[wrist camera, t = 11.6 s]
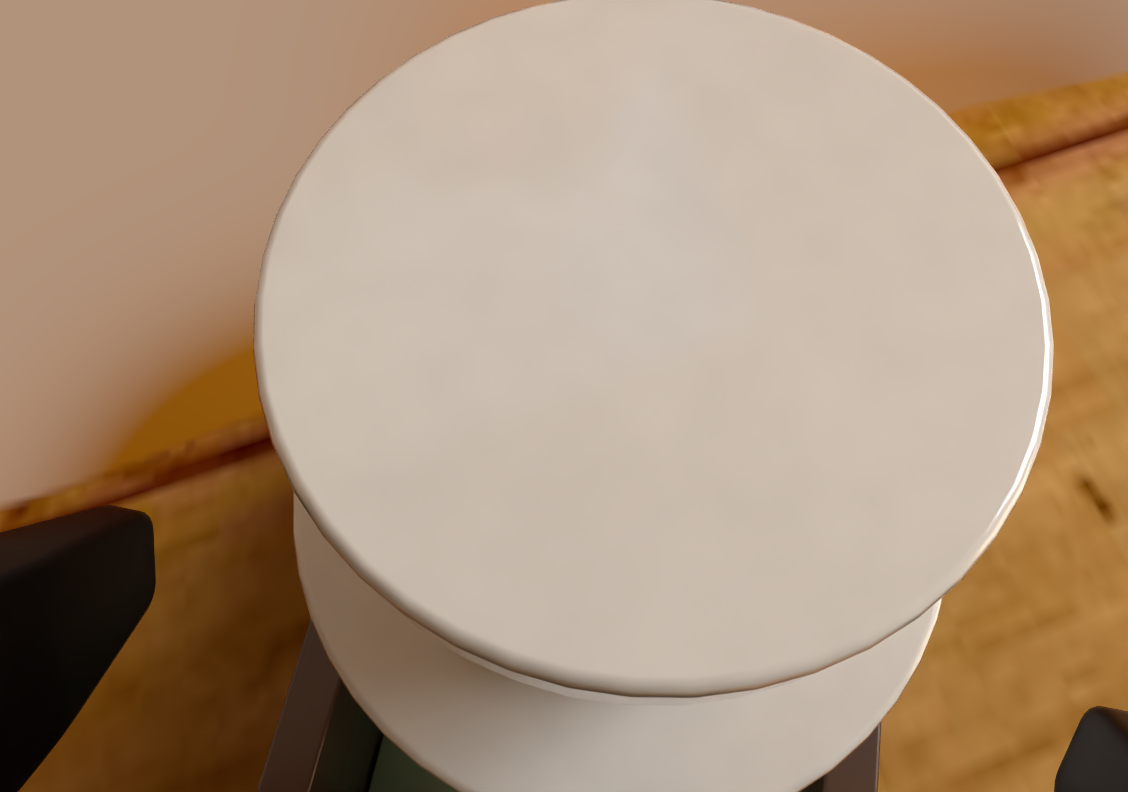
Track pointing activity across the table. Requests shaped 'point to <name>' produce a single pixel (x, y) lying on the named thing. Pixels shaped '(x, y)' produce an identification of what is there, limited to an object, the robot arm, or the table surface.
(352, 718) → the organiser
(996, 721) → the table surface
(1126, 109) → the table surface
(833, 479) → the white bottle
